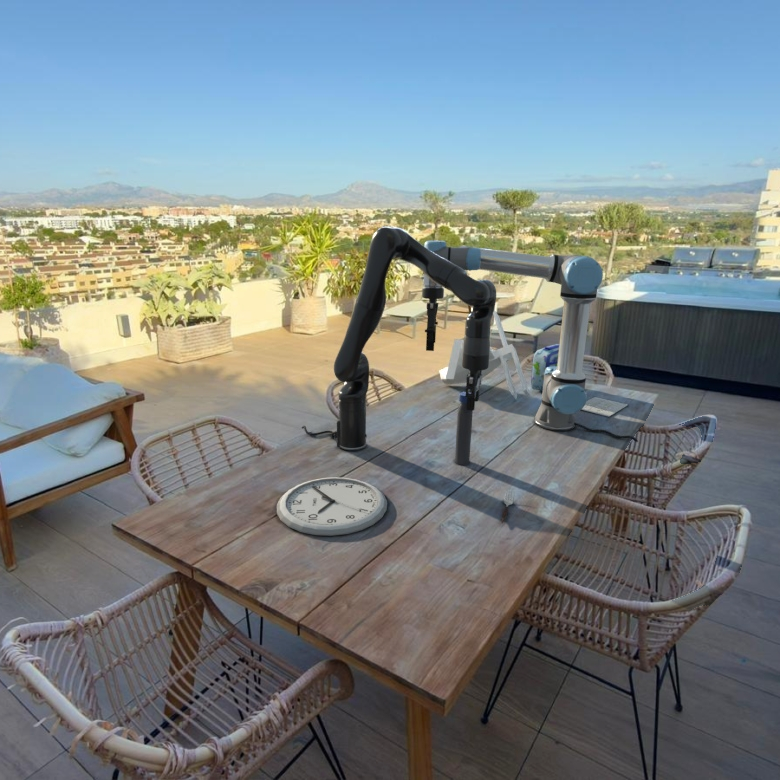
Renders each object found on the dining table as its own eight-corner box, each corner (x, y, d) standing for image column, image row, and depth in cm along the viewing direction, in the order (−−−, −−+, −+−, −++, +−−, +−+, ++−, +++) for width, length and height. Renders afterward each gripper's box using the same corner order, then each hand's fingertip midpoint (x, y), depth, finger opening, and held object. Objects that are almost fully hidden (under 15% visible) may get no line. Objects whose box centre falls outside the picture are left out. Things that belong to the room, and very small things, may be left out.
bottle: (466, 458, 173) (470, 392, 167) (471, 464, 169) (476, 397, 162) (452, 459, 172) (456, 393, 166) (457, 465, 168) (461, 397, 161)
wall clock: (392, 527, 129) (268, 531, 127) (391, 533, 130) (269, 537, 127) (383, 473, 158) (282, 475, 155) (383, 478, 158) (282, 480, 156)
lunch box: (547, 396, 238) (552, 351, 232) (526, 391, 246) (531, 347, 239) (574, 385, 256) (579, 343, 250) (554, 380, 263) (559, 340, 257)
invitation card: (608, 416, 214) (573, 407, 224) (608, 416, 214) (573, 408, 224) (628, 404, 229) (594, 396, 238) (628, 405, 229) (594, 397, 238)
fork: (496, 524, 135) (497, 517, 134) (505, 496, 149) (506, 489, 148) (506, 526, 134) (507, 519, 133) (514, 497, 148) (515, 491, 148)
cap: (469, 398, 167) (470, 391, 166) (474, 402, 163) (475, 395, 162) (457, 399, 166) (457, 392, 165) (461, 403, 162) (462, 396, 161)
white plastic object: (461, 429, 252) (437, 405, 227) (444, 352, 274) (420, 323, 250) (535, 404, 240) (518, 377, 215) (510, 326, 262) (492, 293, 237)
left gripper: (466, 345, 156) (463, 397, 161) (458, 356, 143) (455, 411, 148) (492, 347, 154) (488, 399, 159) (486, 358, 141) (482, 414, 146)
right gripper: (424, 282, 194) (422, 338, 201) (420, 290, 171) (418, 353, 177) (444, 283, 193) (442, 339, 200) (443, 291, 170) (440, 354, 176)
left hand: (472, 405), depth 153 cm, fingers open, 8 cm apart
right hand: (430, 346), depth 188 cm, fingers open, 13 cm apart
